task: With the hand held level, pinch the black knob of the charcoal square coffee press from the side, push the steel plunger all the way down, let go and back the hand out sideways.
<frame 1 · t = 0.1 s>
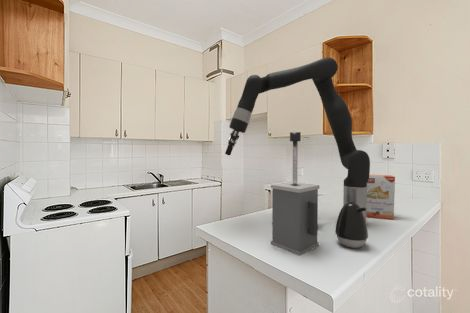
hand: (227, 154, 103), 31 cm above the countertop, tool tilted 20°, fingers open, 8 cm apart
plunger: (295, 172, 81), point 25 cm above the countertop, slide at 10.0 cm
black egg-shaped dispenser: (351, 245, 81), on the countertop
cracker box: (376, 217, 115), on the countertop
press: (294, 244, 82), on the countertop
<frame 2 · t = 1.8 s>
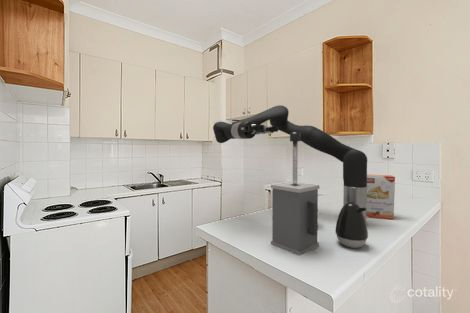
hand: (270, 128, 91), 42 cm above the countertop, tool horizontal, fingers open, 8 cm apart
nothing on the countertop moved.
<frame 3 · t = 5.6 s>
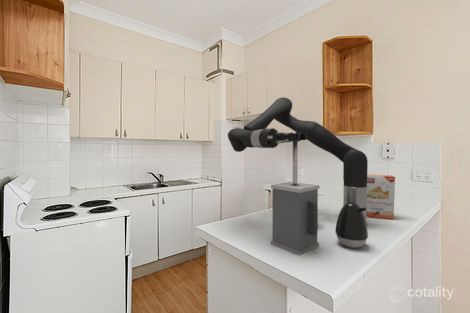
hand: (302, 136, 78), 38 cm above the countertop, tool horizontal, fingers closed on plunger, 3 cm apart
plunger: (295, 172, 81), point 25 cm above the countertop, slide at 10.0 cm, touching gripper
everything else where it was.
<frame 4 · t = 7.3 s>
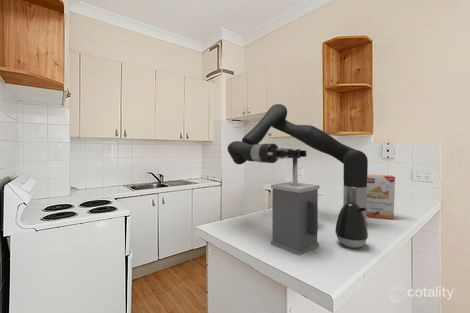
hand: (302, 153, 79), 32 cm above the countertop, tool horizontal, fingers closed on plunger, 3 cm apart
plunger: (294, 189, 81), point 20 cm above the countertop, slide at 4.2 cm, touching gripper
everything else where it was.
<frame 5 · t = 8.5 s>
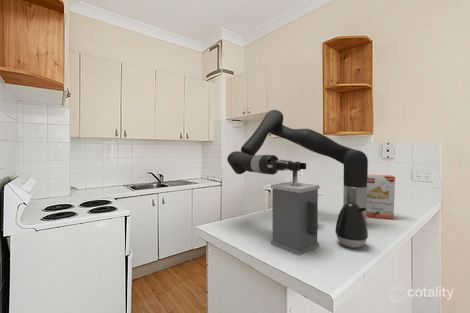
hand: (302, 166, 79), 28 cm above the countertop, tool horizontal, fingers closed on plunger, 3 cm apart
plunger: (294, 201, 81), point 15 cm above the countertop, slide at -0.2 cm, touching gripper
everything else where it was.
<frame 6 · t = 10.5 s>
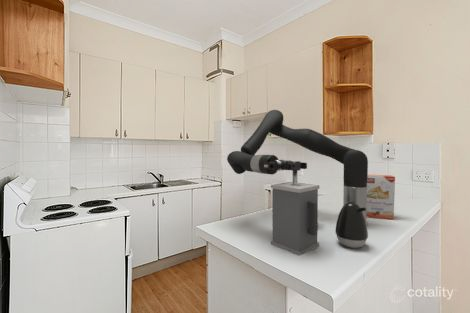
hand: (299, 166, 79), 28 cm above the countertop, tool horizontal, fingers open, 8 cm apart
plunger: (294, 201, 81), point 15 cm above the countertop, slide at -0.1 cm
everything else where it was.
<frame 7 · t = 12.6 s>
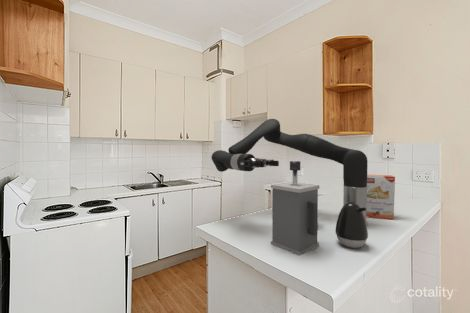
hand: (271, 164, 89), 28 cm above the countertop, tool horizontal, fingers open, 8 cm apart
nothing on the countertop moved.
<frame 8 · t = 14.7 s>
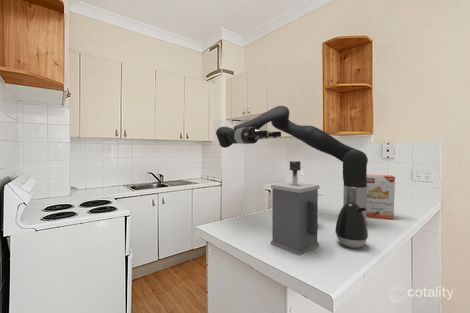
hand: (273, 133, 93), 40 cm above the countertop, tool horizontal, fingers open, 8 cm apart
nothing on the countertop moved.
at the end: plunger slide at -0.1 cm; the gripper is holding nothing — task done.
